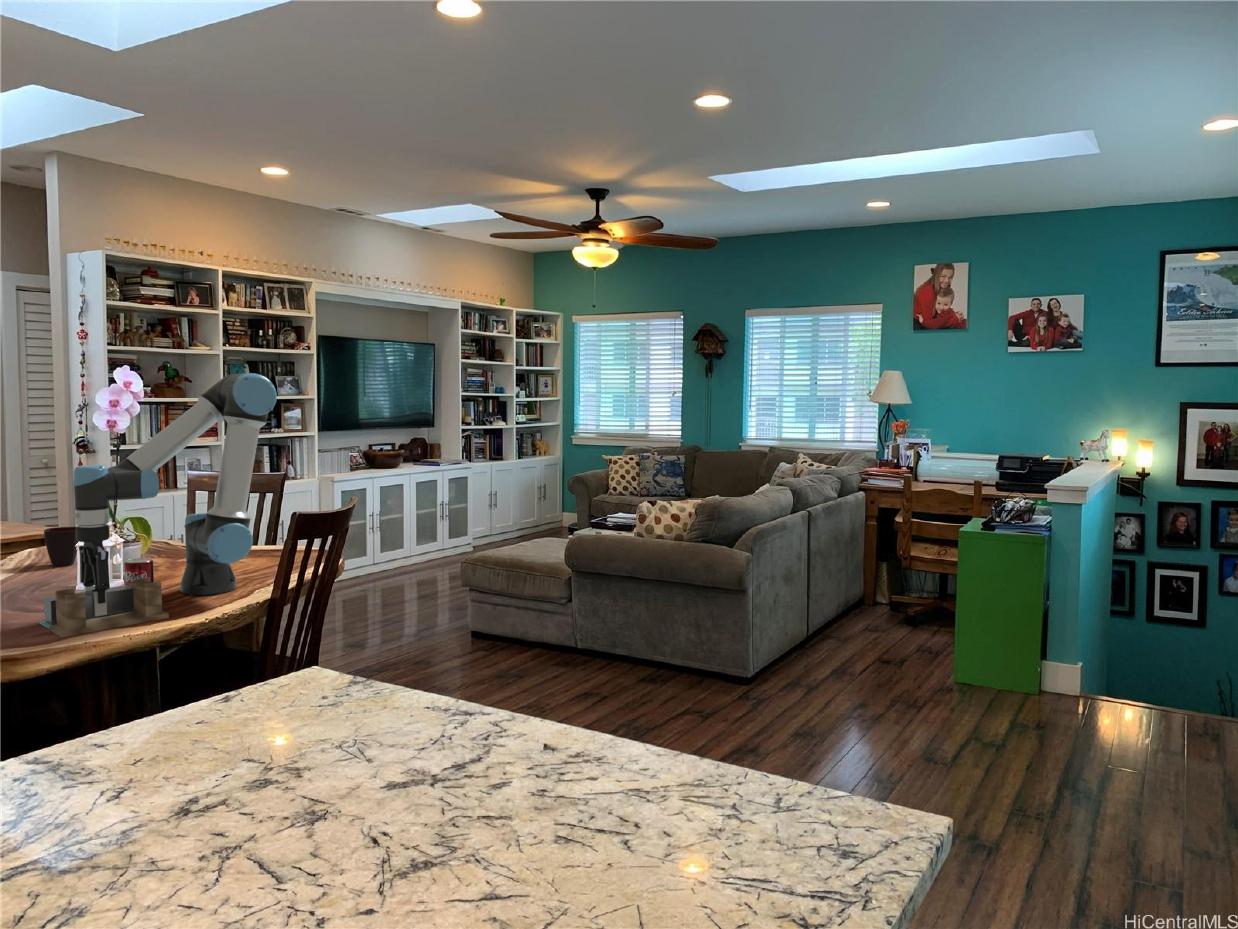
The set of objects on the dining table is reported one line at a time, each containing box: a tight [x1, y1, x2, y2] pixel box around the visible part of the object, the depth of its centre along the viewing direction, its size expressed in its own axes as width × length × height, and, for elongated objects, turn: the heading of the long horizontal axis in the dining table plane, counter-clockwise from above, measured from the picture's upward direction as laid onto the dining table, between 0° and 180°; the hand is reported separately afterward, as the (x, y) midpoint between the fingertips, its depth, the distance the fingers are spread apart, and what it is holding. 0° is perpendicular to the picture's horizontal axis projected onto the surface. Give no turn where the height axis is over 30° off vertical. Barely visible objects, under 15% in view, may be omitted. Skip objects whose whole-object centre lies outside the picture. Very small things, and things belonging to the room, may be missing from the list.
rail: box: [43, 584, 134, 625], centre depth 234 cm, size 22×5×6 cm, turn 139°
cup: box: [43, 526, 79, 568], centre depth 300 cm, size 10×14×12 cm
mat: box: [38, 611, 134, 630], centre depth 234 cm, size 24×7×1 cm, turn 139°
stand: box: [49, 577, 170, 638], centre depth 227 cm, size 25×8×10 cm, turn 139°
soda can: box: [123, 557, 155, 586], centre depth 250 cm, size 7×7×12 cm
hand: (96, 612), depth 234 cm, fingers open, 6 cm apart
